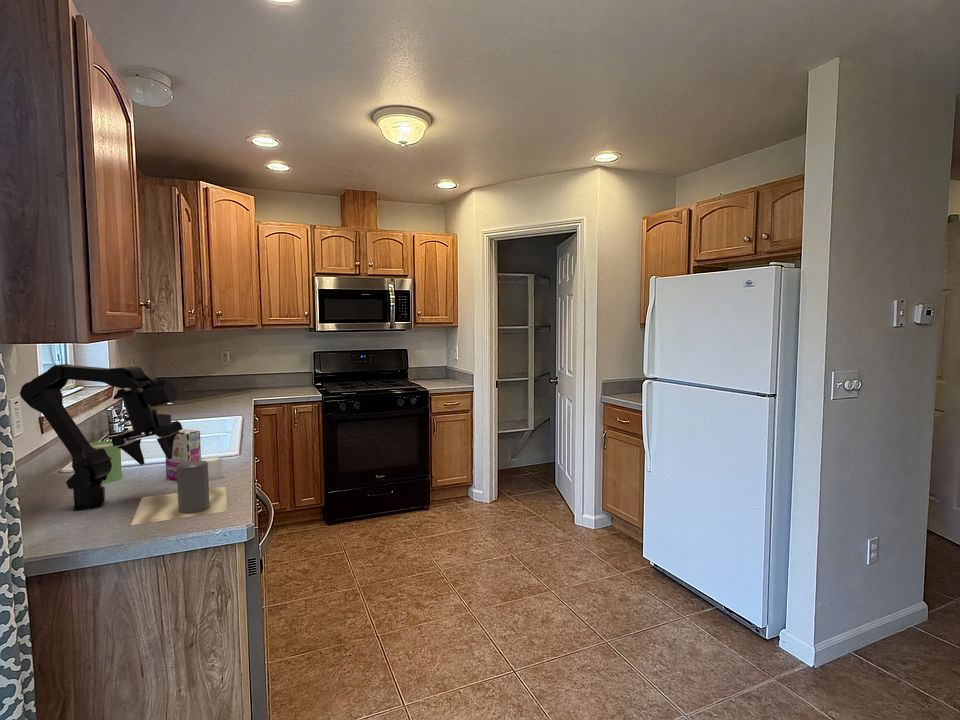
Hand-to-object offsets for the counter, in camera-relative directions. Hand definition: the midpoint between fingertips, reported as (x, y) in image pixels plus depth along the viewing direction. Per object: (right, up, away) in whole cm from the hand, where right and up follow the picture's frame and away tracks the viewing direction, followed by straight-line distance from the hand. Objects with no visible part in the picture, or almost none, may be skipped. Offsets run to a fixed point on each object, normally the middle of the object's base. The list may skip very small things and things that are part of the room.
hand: (156, 461), depth 151 cm
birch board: (+9, -12, -2) cm, 16 cm away
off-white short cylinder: (+4, -11, +24) cm, 26 cm away
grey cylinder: (+14, -12, -6) cm, 20 cm away
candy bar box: (-6, -11, +25) cm, 28 cm away
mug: (-33, -11, +23) cm, 42 cm away
